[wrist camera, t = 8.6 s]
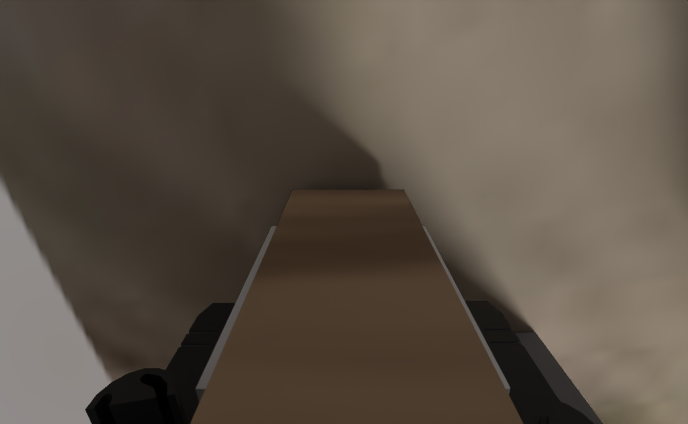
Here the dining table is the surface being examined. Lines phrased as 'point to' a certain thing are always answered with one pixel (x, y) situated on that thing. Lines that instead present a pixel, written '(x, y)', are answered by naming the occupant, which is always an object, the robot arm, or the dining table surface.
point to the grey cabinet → (555, 375)
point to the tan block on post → (353, 326)
